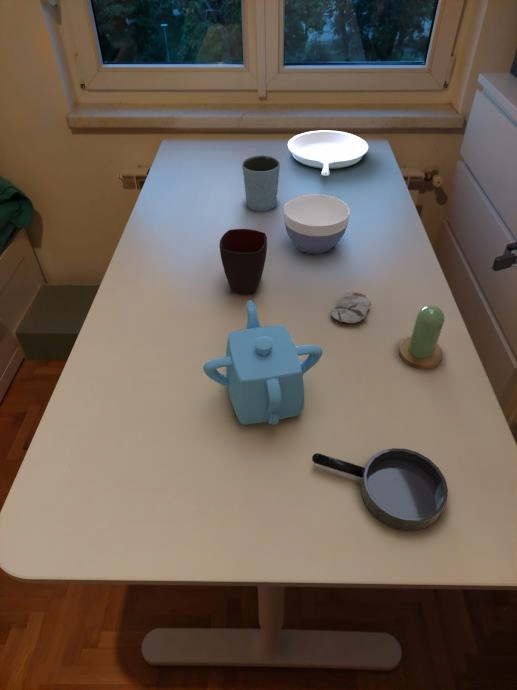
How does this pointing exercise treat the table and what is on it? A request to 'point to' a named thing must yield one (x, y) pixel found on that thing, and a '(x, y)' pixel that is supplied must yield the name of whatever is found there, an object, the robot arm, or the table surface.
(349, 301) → the stone
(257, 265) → the cup
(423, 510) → the steel pan
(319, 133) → the pan
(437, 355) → the disc
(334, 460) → the pan handle
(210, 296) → the table surface
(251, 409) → the teapot
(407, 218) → the table surface
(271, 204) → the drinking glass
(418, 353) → the green capsule
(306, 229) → the bowl
